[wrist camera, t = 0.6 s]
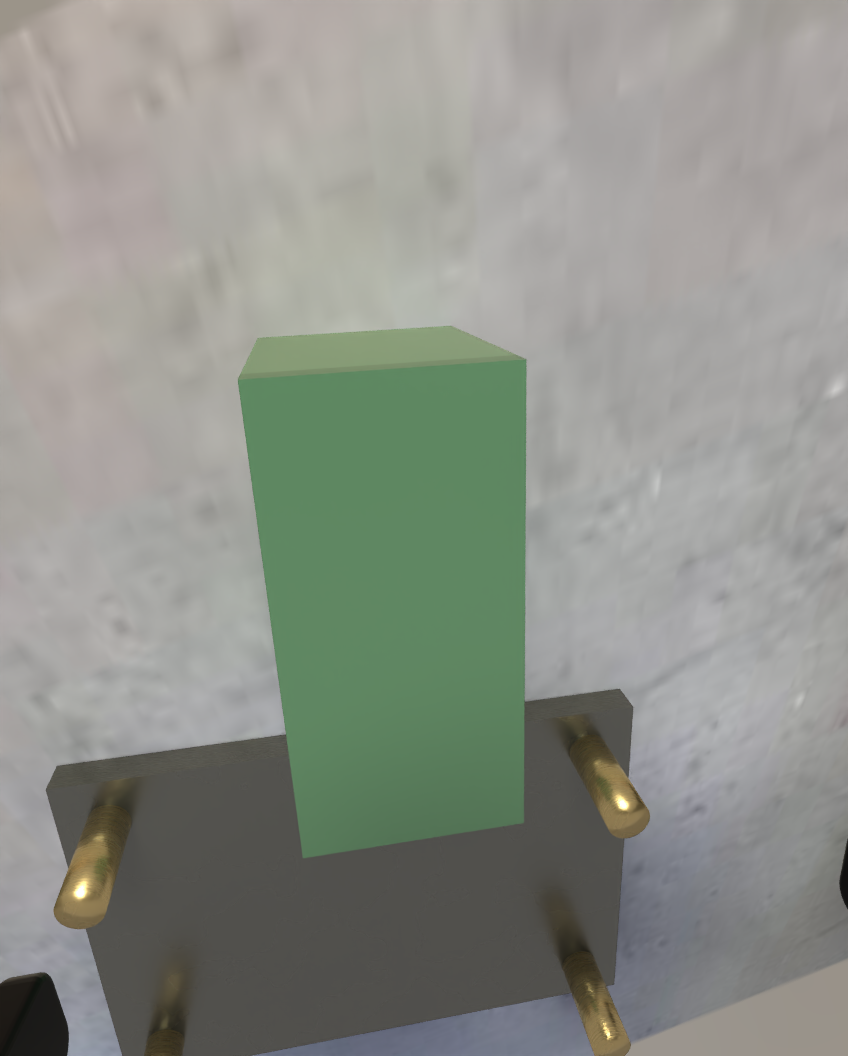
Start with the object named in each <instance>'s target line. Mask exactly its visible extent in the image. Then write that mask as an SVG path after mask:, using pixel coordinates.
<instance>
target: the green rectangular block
mask: <svg viewBox="0 0 848 1056" xmlns="http://www.w3.org/2000/svg"><path fill="white" fill-rule="evenodd" d="M238 385H239V392H240V400H241V407H242V414H243V422H244V429H245V436H246V444H247V451H248V458H249V466H250V473H251V480H252V488H253V495H254V502H255V510H256V517H257V524H258V532H259V539H260V546H261V554H262V561H263V568H264V576H265V583H266V590H267V598H268V605H269V612H270V620H271V627H272V634H273V642H274V649H275V656H276V664H277V671H278V679H279V686H280V693H281V701H282V708H283V715H284V723H285V730H286V737H287V745H288V752H289V759H290V767H291V774H292V781H293V789H294V796H295V803H296V811H297V818H298V825H299V833H300V840H301V847H302V855H303V858H308V857H315V856H321V855H327V854H333V853H340V852H346V851H352V850H358V849H365V848H371V847H377V846H383V845H389V844H396V843H402V842H408V841H414V840H421V839H427V838H433V837H439V836H446V835H452V834H458V833H464V832H471V831H477V830H483V829H489V828H495V827H502V826H508V825H514V824H520V823H524V695H525V513H526V359H524V358H522V357H520V356H518V355H515V354H513V353H511V352H509V351H506V350H504V349H502V348H500V347H497V346H495V345H493V344H491V343H488V342H486V341H484V340H482V339H479V338H477V337H475V336H473V335H470V334H468V333H466V332H464V331H461V330H459V329H457V328H455V327H452V326H441V327H425V328H409V329H393V330H377V331H362V332H346V333H330V334H314V335H298V336H282V337H266V338H258V339H257V341H256V343H255V345H254V347H253V349H252V351H251V353H250V356H249V358H248V360H247V362H246V364H245V366H244V368H243V370H242V372H241V374H240V376H239V378H238Z"/></svg>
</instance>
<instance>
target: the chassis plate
mask: <svg viewBox="0 0 848 1056" xmlns="http://www.w3.org/2000/svg"><path fill="white" fill-rule="evenodd" d="M632 717H633V706H632V705H631V703H630V702H629V701H628V699H627V698H626V697H625V695H624V694H623V693H622V691H621V690H620V689H615V690H608V691H601V692H594V693H586V694H579V695H572V696H564V697H557V698H550V699H542V700H535V701H528V702H524V823H520V824H514V825H508V826H502V827H495V828H489V829H483V830H477V831H471V832H464V833H458V834H452V835H446V836H439V837H433V838H427V839H421V840H414V841H408V842H402V843H396V844H389V845H383V846H377V847H371V848H365V849H358V850H352V851H346V852H340V853H333V854H327V855H321V856H315V857H308V858H303V855H302V847H301V840H300V833H299V825H298V818H297V811H296V803H295V796H294V789H293V781H292V774H291V767H290V759H289V752H288V745H287V737H286V735H280V736H273V737H265V738H258V739H251V740H244V741H236V742H229V743H222V744H214V745H207V746H200V747H192V748H185V749H178V750H171V751H163V752H156V753H149V754H141V755H134V756H127V757H120V758H112V759H105V760H98V761H90V762H83V763H76V764H68V765H61V766H57V767H56V769H55V771H54V773H53V776H52V778H51V780H50V782H49V784H48V786H47V788H46V792H47V796H48V799H49V803H50V806H51V810H52V813H53V817H54V820H55V824H56V827H57V831H58V834H59V837H60V841H61V844H62V848H63V851H64V855H65V858H66V862H67V865H68V871H67V874H66V877H65V879H64V882H63V885H62V887H61V890H60V893H59V896H58V898H57V901H56V904H55V906H54V915H55V918H56V919H57V920H58V922H60V923H61V924H62V925H64V926H66V927H69V928H73V929H86V931H87V934H88V938H89V941H90V945H91V948H92V952H93V955H94V959H95V962H96V966H97V969H98V973H99V976H100V980H101V983H102V986H103V990H104V993H105V997H106V1000H107V1004H108V1007H109V1011H110V1014H111V1018H112V1021H113V1025H114V1028H115V1032H116V1035H117V1038H118V1042H119V1045H120V1049H121V1052H122V1056H251V1055H256V1054H262V1053H267V1052H272V1051H277V1050H282V1049H287V1048H292V1047H297V1046H302V1045H308V1044H313V1043H318V1042H323V1041H328V1040H333V1039H338V1038H343V1037H348V1036H354V1035H359V1034H364V1033H369V1032H374V1031H379V1030H384V1029H389V1028H394V1027H400V1026H405V1025H410V1024H415V1023H420V1022H425V1021H430V1020H435V1019H440V1018H446V1017H451V1016H456V1015H461V1014H466V1013H471V1012H476V1011H481V1010H486V1009H492V1008H497V1007H502V1006H507V1005H512V1004H517V1003H522V1002H527V1001H532V1000H538V999H543V998H548V997H553V996H558V995H563V994H568V993H572V996H573V999H574V1001H575V1004H576V1007H577V1009H578V1012H579V1015H580V1017H581V1020H582V1023H583V1025H584V1028H585V1031H586V1033H587V1036H588V1039H589V1041H590V1044H591V1047H592V1049H593V1052H594V1055H595V1056H625V1055H626V1054H627V1053H628V1051H629V1049H630V1046H631V1044H630V1041H629V1038H628V1036H627V1034H626V1031H625V1029H624V1027H623V1024H622V1022H621V1020H620V1017H619V1015H618V1012H617V1010H616V1008H615V1005H614V1003H613V1001H612V998H611V996H610V994H609V991H608V989H607V987H606V986H609V985H614V978H615V964H616V949H617V935H618V920H619V906H620V891H621V877H622V862H623V848H624V838H630V837H633V836H635V835H637V834H639V833H640V832H642V831H643V830H644V829H645V827H646V826H647V824H648V822H649V819H650V813H649V810H648V809H647V807H646V806H645V804H644V802H643V801H642V799H641V798H640V796H639V795H638V793H637V791H636V790H635V788H634V787H633V785H632V784H631V782H630V780H629V779H628V775H629V761H630V746H631V732H632Z"/></svg>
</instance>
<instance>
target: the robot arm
mask: <svg viewBox="0 0 848 1056" xmlns="http://www.w3.org/2000/svg"><path fill="white" fill-rule="evenodd" d="M839 884H840V891H841V895H842V898H843V900H844V903H845V905H846V907H847V909H848V839H847V844H846V849H845V854H844V859H843V864H842V870H841V875H840V881H839ZM68 1043H69V1032H68V1025H67V1021H66V1018H65V1016H64V1013H63V1010H62V1007H61V1004H60V1001H59V998H58V995H57V992H56V989H55V986H54V983H53V981H52V979H51V977H50V976H49V975H48V974H47V973H42V972H40V973H34V974H28V975H23V976H17V977H12V978H9V979H6V980H5V981H3V982H2V983H1V984H0V1056H67V1053H68Z"/></svg>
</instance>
